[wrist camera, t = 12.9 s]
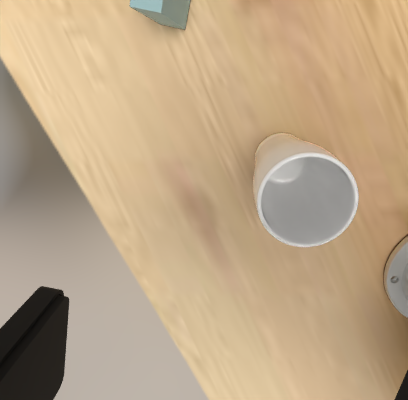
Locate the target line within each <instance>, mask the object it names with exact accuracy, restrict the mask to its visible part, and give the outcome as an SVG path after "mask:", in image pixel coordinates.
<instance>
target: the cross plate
mask: <svg viewBox="0 0 408 400" xmlns="http://www.w3.org/2000/svg"><path fill="white" fill-rule="evenodd" d="M189 5H190V0H130V7H131V8H133V9H135V10H137V11H138V12H140V13H142V14H143V15H145V16H147V17H149V18H150V19H152V20H154V21H155V22H157V23H159V24H161V25H166V26H170V27H175V28H180V29H184V30H185V27H186V22H187V16H188V11H189Z"/></svg>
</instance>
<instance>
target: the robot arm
mask: <svg viewBox="0 0 408 400" xmlns="http://www.w3.org/2000/svg"><path fill="white" fill-rule="evenodd" d="M384 286H385V290H386V293H387V295H388V297H389V299H390V301H391V302H392V304H393V305H394V307H395V308H396V309H397V310H398V311H399V312H400V313H401V314H402V315H404V316H405V317H407V318H408V236H407V237H406V238H404V239H403V240H402V241H401V242H400V243H399V244H398V245H397V246H396V248H395V249H394V251H393V252H392V253H391V255H390V257H389V259H388V261H387V264H386V267H385V272H384ZM68 310H69V298H68V297H65V296H64V293H63V291H62V290H59V289H54V288H49V287H43V286H42V287H40V288H38V289H37V290H36V291H35V293H34V294H33V295H32V296H31V297H30V298H29V299H28V300H27V301H26V302H25V303H24V304H23V305H22V306H21V307H20V308H19V309H18V310H17V312H16V313H15V314H14V315H13V316H12V317H11V318H10V319H9V320H8V321H7V322H6V323H5V325H4V326H2V327H1V329H0V400H53V399H54V397H55V396H56V394H57V392H58V390H59V388H60V386H61V384H62V381H63V377H64V367H65V353H66V338H67V325H68ZM395 400H408V371H407V373H406V375H405V377H404V380H403V382H402V384H401V386H400V389H399V391H398V393H397V396H396V398H395Z"/></svg>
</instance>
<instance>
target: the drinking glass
mask: <svg viewBox="0 0 408 400" xmlns="http://www.w3.org/2000/svg"><path fill="white" fill-rule="evenodd" d="M253 195H254V201H255V205H256V209H257V212H258V215H259V218H260V220H261V222H262V224H263V226H264V227H265V229H266V230H267V231H268V232H269V233H270V234H271V235H272V236H273V237H275V238H276V239H277V240H279V241H281V242H283V243H285V244H288V245H291V246H296V247H314V246H319V245H322V244H325V243H327V242H330V241H331V240H333V239H335V238H336V237H338V236H339V235H340V234H341V233H343V232H344V231H345V230H346V228H347V227H348V226H349V225H350V223H351V222H352V220H353V218H354V216H355V214H356V211H357V207H358V200H359V194H358V188H357V184H356V181H355V179H354V177H353V175H352V173H351V172H350V171H349V169H348V168H347V167H346V166H345V165H344V164H343V163H342V162H341V161H340V160H339V159H338V158H337V157H335V156H334V155H333V154H332V153H330V152H329V151H327V150H326V149H324V148H322V147H320V146H318V145H316V144H314V143H311V142H308V141H305V140H302V139H299V138H297V137H296V136H294V135H291V134H288V133H277V134H273V135H271V136H269V137H267V138H266V139H264V140H263V141H262V142H261V143H260V145H259V146H258V148H257V150H256V153H255V170H254V178H253Z"/></svg>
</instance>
